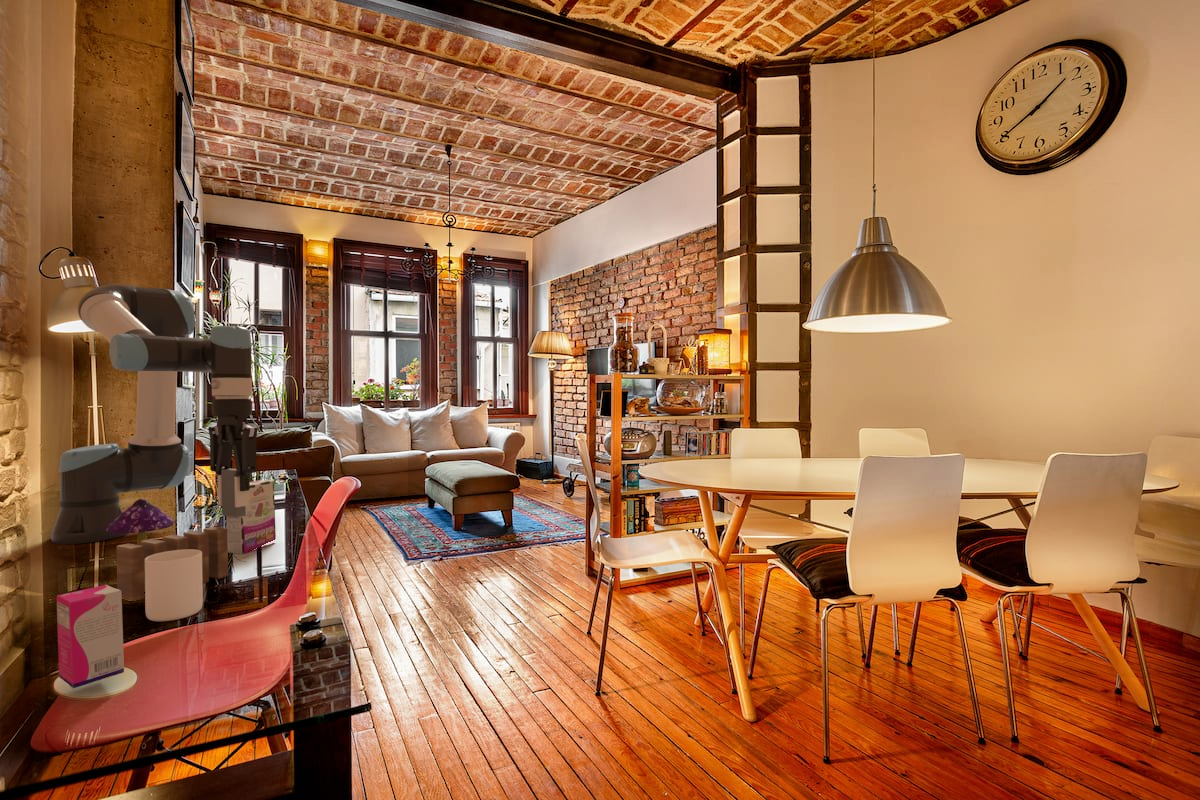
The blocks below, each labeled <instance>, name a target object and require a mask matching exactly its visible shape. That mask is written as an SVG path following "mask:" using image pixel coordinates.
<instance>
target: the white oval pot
mask: <svg viewBox="0 0 1200 800" xmlns="http://www.w3.org/2000/svg"><path fill="white" fill-rule="evenodd" d="M203 586H204V585H203V583H202V551H200V550H194V549H185V550H174V551H167V552H162V553H157V554H154V555H151V556H148V557H146V558H145V593H144V600H145V601H144V602H145V603H144V605H145V607H144V608H145V609H144V610H145V611H144V612H145V616H146V618H147V619H148V620H149V621H150V622H151V621H152V622H169V621H175V620H180V619H184V618H189V617H191V616H194V615H195V614H198V613H199V612H200V611H201V610H202V608H203V604H204V603H203V600H204V599H203V595H204V594H203Z"/></svg>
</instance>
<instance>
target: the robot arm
mask: <svg viewBox="0 0 1200 800" xmlns="http://www.w3.org/2000/svg"><path fill="white" fill-rule="evenodd" d="M194 310H195V309H194V306H193V304H192V301H191V299H190V298H189V296H188V295H187V294H186V293H185V292H182V291H179V290H172V289H168V288H158V287H157V288H156V287H146V286H138V285H137V286H136V285H129V284H128V285H126V284H120V283H112V284H111V283H110V284H104V285H101V286H96V287H95V288H93V289H90V290H89V291H87V292H86V293H84V294H83V296H81V298H80V300H79V301H78V304H77V314H78V317H79V318H80V320H81V322H82V323H83V324H84V325H85V326H86V328H87V327H88V329H90V330H92V331H94V332H97V333H99V334H101V336H102V337H103V338H104V339H105V340H106V341H107V342H108V343H109V346H108V348H109V349H108V350H109V351H108V352H109V353H108V354H109V360H110V362H111V366H112V367H113V368H114V369H116V370H119V371H131V372H137V387H136V388H137V389H136V390H137V391H136V392H137V393H136V412H135V413H136V415H135V416H136V417H135V418H136V419H135V434H134V435H133V436H132V437H131V438H129V439H128V443H127V444H128V445H127V447H125V448H120V446H119V444H118V443H104V444H96V445H95V444H93V445H87V446H82V447H77V448H72V449H68V450H66V451H64V452H63V453H62V454H61V455H60V457H59V467H58V470H57V471H58V473H59V503H60V504H59V506H60V508H59V512H58V514H57V517H56V521H55V523H54V526H53V528H52V530H51V534H50V535H51V537H50V538H51V539H50V540H51V542H52V543H53V544H58V545H74V544H75V545H76V544H86V543H96V542H101V541H102V542H103V541H108V540H112V539H117V538H120V537H124V536H127V534H114V533H109V532H108V531H107V530H106V528H107V527H108V526H109V525H110V524H111V523H112V522H113V521H114V520H115V519H116V518H117V517H118V516H120V515H121V514H122V513H123V512H124V511H123V509H122V508H121V505H120V494H122V493H132V492H142V491H151V490H164V489H168V488H175V487H177V486H180V485H181V484H182V483H183V481H184V480H185V479H186V476H187V475H188V470H189V466H190V456H189V454H190V452H189V449H188V447H187V446H186V445H184V444H182V439H181V438H179V436H177V435H176V411H177V410H176V409H177V408H176V407H177V390H178V389H177V386H178V385H177V384H178V380H177V379H178V372H186V373H187V372H189V373H191V372H192V373H195V372H196V373H204V374H205V373H206V374H209V373H210V374H211V376H210V377H211V383H210V385H211V397H215V399H212V400H211V415H212V416H213V417H217V421H216V425H215V426H214V425H213V426H208V428H207V429H208V430H207V431H208V436H209V461H210V462H209V470H210V472H215V474H216V476H217V489H218V490H217V491H218V496H217V497H218V503H217V504H218V506H222V475H221V469H230V468H231V466H232V465H231V464H232V459H233V457H234V463H235V469H236V470H237V474H235V475H234V476H235V477H234V478H235V507H242V506H248V505H249V489H250V486H249V485H250V484H249V483H250V482H251V480H250V476H251V475H252V474H254V473H257V471H258V465H257V464H258V463H257V462H258V459H257V454H258V453H257V436H258V431H259V430H258V427H257V426H251V425H249V424H250V423H249V421H248V417H249V416H252V414H253V400H252V399H251V398H250V397H252V396H253V379H252V347H253V342H252V337H251V331H250V330H249V328H246V327H244V326H234V325H218V326H217V325H216V326H213V327H212V328H211V330H210V336H209V338H202V337H199V338H198V337H186V336H190V335H192V334H193V333H194V331H195V326H196V316H195V311H194ZM242 469H243V470H242Z"/></svg>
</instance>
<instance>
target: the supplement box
mask: <svg viewBox="0 0 1200 800" xmlns="http://www.w3.org/2000/svg"><path fill="white" fill-rule="evenodd" d="M122 603H123V600H122V595H121V590H118V589H117V588H115V587H112V586H110V585H108V584H102V585H98V586H93V587H89V588H85V589H80V590H76V591H72V592H67V593H63V594H57V595H56V617H57V618H56V621H57V623H56V624H57V648H58V649H57V650H58V651H57V654H58V677H59V678H60V679H61V680H63V682H65V683H66V684H68V686H69V687H71V688H72V689H76V688H80V687H82V686H85V685H88V684H89V685H90V684H92V683H94V682H98V681H101V680H103V679H107V678H111V677H113V676H117V675H120V674H123V673H124V672H125V662H124V661H125V660H124V659H125V658H124V655H125V654H124V653H125V652H124V651H125V650H124V628H123V604H122Z"/></svg>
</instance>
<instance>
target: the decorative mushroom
mask: <svg viewBox="0 0 1200 800" xmlns="http://www.w3.org/2000/svg"><path fill="white" fill-rule="evenodd" d="M122 512H123V513H122V514H121V515H120V516H118V517H117V518H116V519H115V520H114V521H113V522H112V523H111V524H110V525H109V526H108V527H107V528H106V530H107V531H108V532H109V533H114V534H126V535H129V534H137V539H136V545H140V541H144V540H148V532H153V531H159V530H163V529H167V528H170V527H172V526H173V525H174V524H175V523H176V522H175V520H174V519H173V518H172V517H170V516H169V515H168V514H166V513H165V512H164V511H163V510H161V508H159V507H157V506H155V505H153V504H152V503H150V502H149V501H148V500H147V499H145V498H139V499H136V500H135V501H134V502H133V504H132V505H130V506H129V507H127V508H126V509H125V510H124V511H122Z"/></svg>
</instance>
